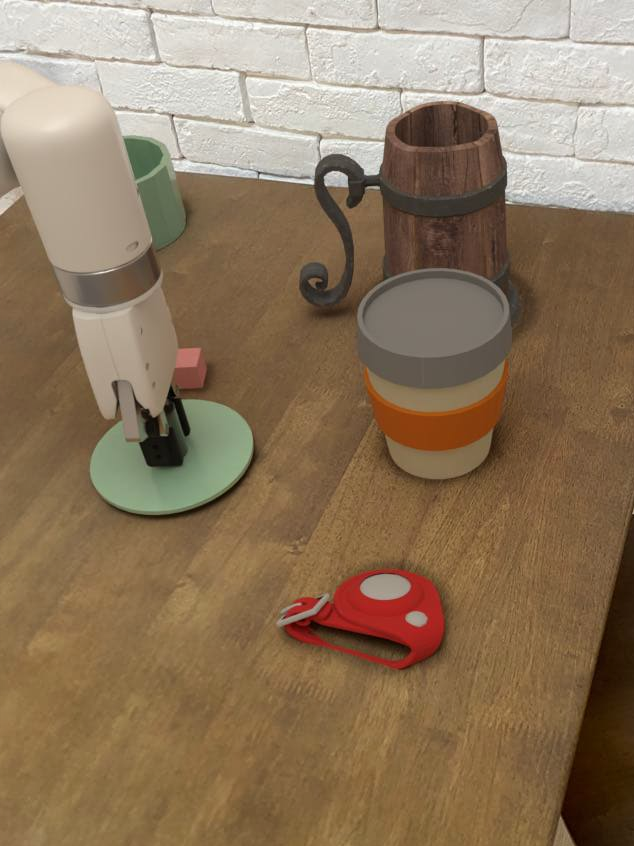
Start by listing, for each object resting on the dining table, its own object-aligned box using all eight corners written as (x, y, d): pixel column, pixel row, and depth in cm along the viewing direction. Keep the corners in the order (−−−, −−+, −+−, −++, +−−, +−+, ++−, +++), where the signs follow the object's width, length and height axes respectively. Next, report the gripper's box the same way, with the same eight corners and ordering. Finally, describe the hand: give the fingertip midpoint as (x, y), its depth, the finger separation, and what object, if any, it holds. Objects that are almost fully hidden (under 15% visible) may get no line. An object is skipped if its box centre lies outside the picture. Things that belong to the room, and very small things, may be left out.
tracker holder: (397, 545, 76) (474, 598, 69) (398, 591, 78) (473, 648, 71) (263, 592, 70) (333, 656, 63) (268, 641, 72) (336, 708, 65)
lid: (76, 523, 80) (51, 472, 76) (112, 411, 90) (92, 360, 85) (245, 516, 79) (230, 464, 75) (263, 404, 89) (251, 352, 84)
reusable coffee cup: (468, 389, 90) (466, 250, 79) (535, 469, 82) (543, 327, 71) (349, 432, 87) (329, 294, 76) (406, 519, 79) (393, 379, 68)
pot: (62, 262, 110) (36, 195, 104) (89, 204, 120) (66, 138, 113) (176, 256, 110) (157, 188, 103) (194, 198, 119) (177, 131, 112)
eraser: (144, 397, 93) (134, 369, 90) (150, 378, 95) (140, 350, 92) (204, 395, 92) (196, 366, 90) (208, 375, 94) (201, 347, 92)
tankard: (519, 263, 104) (525, 78, 89) (537, 357, 93) (547, 163, 78) (310, 278, 105) (280, 97, 90) (302, 372, 94) (267, 183, 79)
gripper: (84, 214, 75) (145, 392, 89) (28, 336, 65) (108, 518, 78) (176, 208, 75) (223, 388, 89) (135, 330, 64) (197, 514, 78)
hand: (169, 447), depth 83 cm, fingers closed on lid, 3 cm apart
